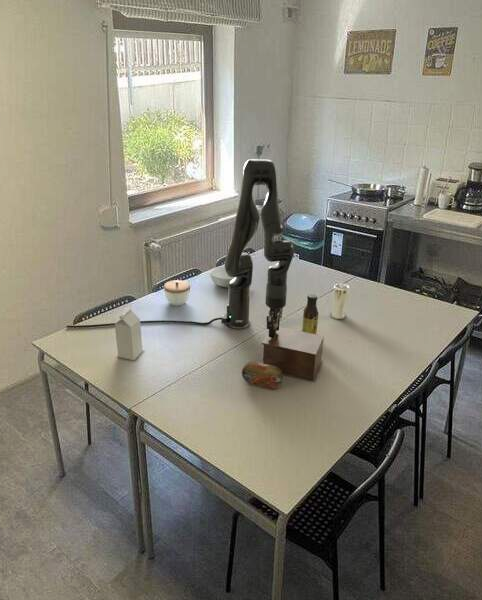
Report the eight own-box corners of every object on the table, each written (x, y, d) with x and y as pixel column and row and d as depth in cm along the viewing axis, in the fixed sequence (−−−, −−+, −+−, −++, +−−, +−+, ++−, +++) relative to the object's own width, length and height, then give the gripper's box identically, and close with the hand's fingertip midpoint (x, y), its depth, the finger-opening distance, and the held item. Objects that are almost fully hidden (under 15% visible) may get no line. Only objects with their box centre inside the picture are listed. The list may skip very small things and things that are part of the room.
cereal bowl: (207, 289, 251) (207, 276, 248) (214, 276, 266) (213, 264, 263) (240, 292, 249) (240, 279, 246) (244, 279, 264) (245, 267, 260)
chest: (262, 369, 187) (263, 345, 182) (273, 351, 199) (274, 328, 194) (313, 381, 181) (315, 356, 176) (321, 361, 192) (323, 337, 188)
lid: (261, 344, 182) (262, 332, 180) (272, 327, 194) (273, 315, 192) (315, 356, 176) (317, 343, 173) (323, 337, 188) (325, 325, 185)
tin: (241, 382, 179) (241, 362, 176) (244, 377, 182) (244, 358, 178) (281, 391, 175) (282, 371, 171) (283, 386, 177) (284, 366, 174)
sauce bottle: (315, 342, 205) (319, 300, 196) (300, 341, 206) (304, 298, 197) (316, 335, 211) (320, 293, 202) (301, 333, 212) (305, 292, 203)
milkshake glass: (336, 320, 223) (340, 291, 216) (327, 314, 228) (330, 285, 222) (348, 317, 226) (352, 288, 219) (339, 311, 231) (342, 282, 225)
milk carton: (142, 351, 197) (139, 309, 189) (133, 360, 191) (130, 317, 183) (127, 348, 199) (123, 306, 191) (118, 357, 193) (113, 314, 185)
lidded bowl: (176, 294, 246) (175, 274, 241) (195, 301, 239) (195, 280, 234) (159, 303, 236) (157, 282, 231) (178, 310, 230) (178, 289, 225)
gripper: (272, 284, 186) (270, 323, 194) (260, 299, 174) (258, 340, 182) (291, 287, 184) (288, 326, 191) (280, 303, 172) (277, 344, 179)
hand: (273, 333), depth 187 cm, fingers closed on lid, 5 cm apart
